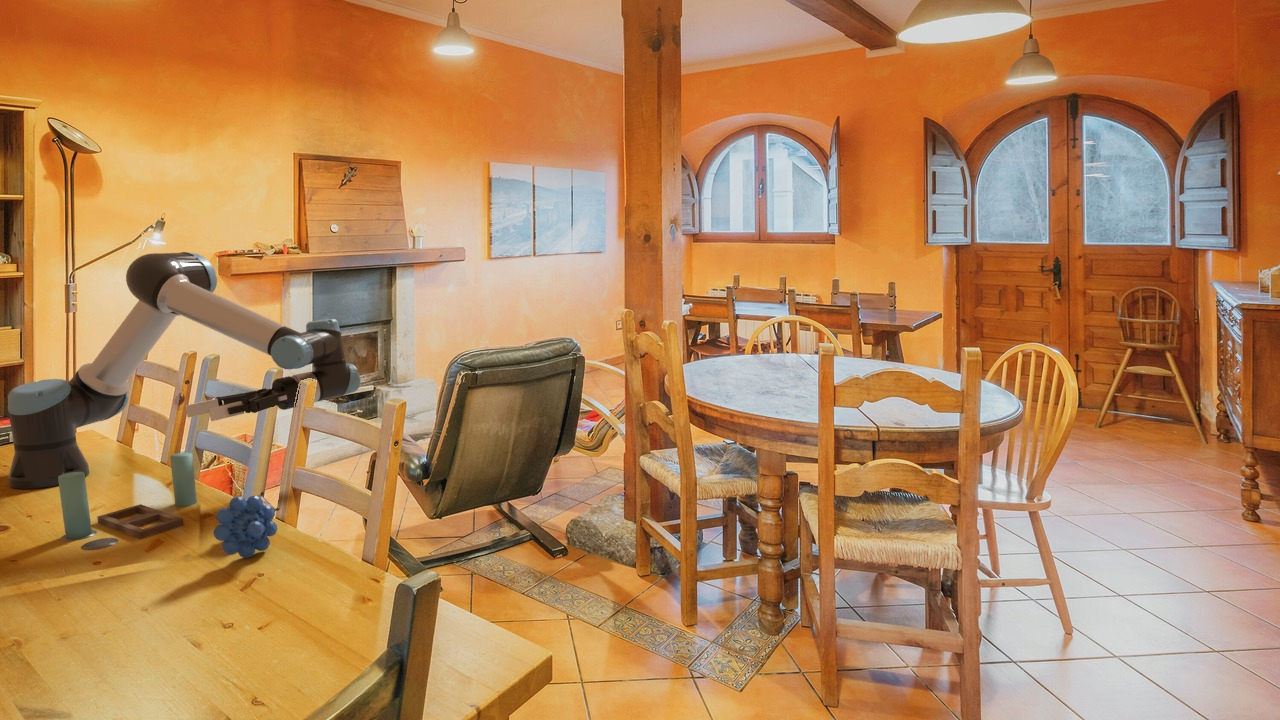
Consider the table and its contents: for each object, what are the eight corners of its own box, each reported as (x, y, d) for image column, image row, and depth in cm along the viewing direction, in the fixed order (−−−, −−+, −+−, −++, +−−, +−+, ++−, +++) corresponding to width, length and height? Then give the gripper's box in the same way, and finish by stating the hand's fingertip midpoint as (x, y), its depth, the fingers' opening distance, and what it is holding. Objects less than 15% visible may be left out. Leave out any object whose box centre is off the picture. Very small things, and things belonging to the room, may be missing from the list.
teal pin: (176, 507, 159) (170, 453, 157) (197, 504, 161) (192, 451, 159) (175, 513, 156) (169, 458, 154) (197, 509, 158) (192, 456, 156)
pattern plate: (51, 542, 141) (50, 536, 140) (98, 528, 147) (97, 522, 147) (93, 560, 133) (92, 554, 132) (140, 544, 139) (140, 538, 139)
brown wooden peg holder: (98, 528, 147) (97, 516, 147) (141, 515, 154) (140, 504, 154) (140, 544, 139) (139, 532, 139) (184, 530, 146) (183, 518, 146)
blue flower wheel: (232, 575, 127) (226, 509, 125) (209, 566, 130) (203, 501, 129) (292, 550, 137) (287, 489, 135) (270, 543, 140) (265, 483, 138)
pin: (67, 533, 142) (59, 473, 140) (93, 529, 144) (85, 470, 142) (64, 540, 138) (56, 479, 136) (90, 536, 140) (82, 476, 138)
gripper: (323, 409, 168) (224, 434, 152) (274, 403, 184) (181, 426, 168) (316, 376, 167) (217, 398, 151) (268, 374, 183) (174, 394, 167)
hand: (198, 413), depth 159 cm, fingers open, 13 cm apart
